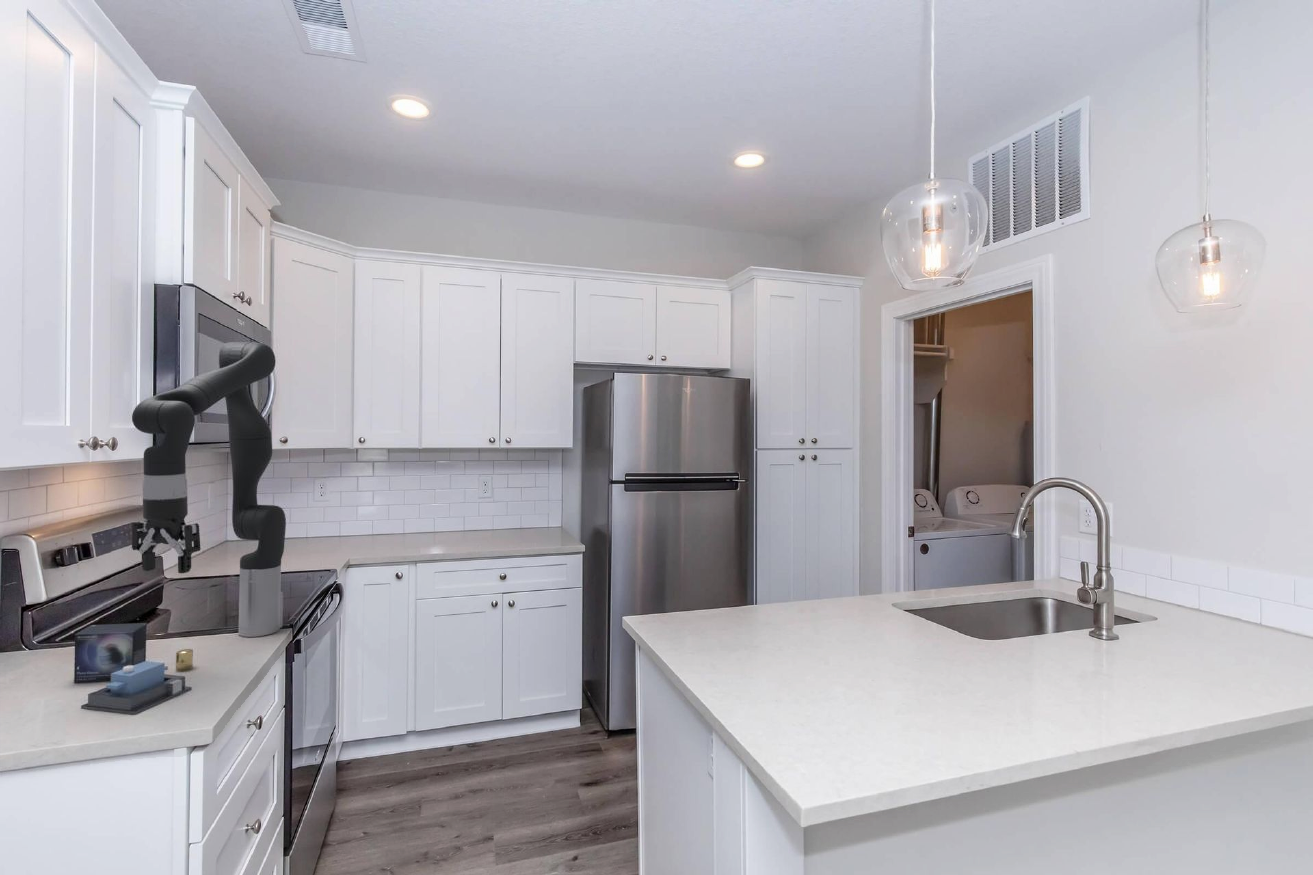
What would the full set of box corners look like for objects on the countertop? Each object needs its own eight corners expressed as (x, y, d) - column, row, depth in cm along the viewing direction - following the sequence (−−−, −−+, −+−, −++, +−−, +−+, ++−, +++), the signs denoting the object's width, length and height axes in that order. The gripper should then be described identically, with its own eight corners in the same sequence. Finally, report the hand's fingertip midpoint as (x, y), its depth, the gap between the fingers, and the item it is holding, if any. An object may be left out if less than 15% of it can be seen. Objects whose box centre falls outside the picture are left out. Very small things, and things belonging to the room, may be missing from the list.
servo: (153, 684, 132) (153, 653, 132) (171, 686, 132) (172, 655, 132) (101, 705, 122) (101, 671, 122) (121, 708, 121) (121, 673, 121)
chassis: (141, 684, 134) (141, 671, 134) (191, 689, 132) (191, 676, 132) (80, 708, 122) (81, 694, 122) (134, 714, 120) (135, 700, 120)
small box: (71, 684, 133) (72, 633, 133) (89, 672, 139) (90, 624, 139) (131, 680, 136) (132, 630, 136) (147, 669, 142) (148, 621, 142)
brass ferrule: (184, 666, 144) (184, 648, 144) (196, 667, 144) (196, 649, 144) (172, 670, 141) (172, 652, 141) (183, 672, 141) (184, 653, 141)
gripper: (210, 494, 138) (210, 569, 139) (152, 491, 141) (153, 565, 141) (178, 499, 131) (180, 578, 132) (118, 496, 133) (120, 573, 134)
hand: (166, 571), depth 137 cm, fingers open, 8 cm apart
